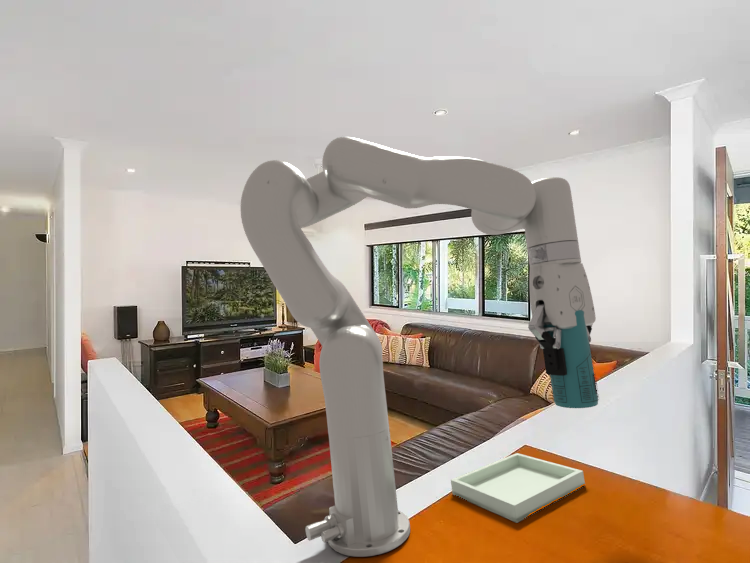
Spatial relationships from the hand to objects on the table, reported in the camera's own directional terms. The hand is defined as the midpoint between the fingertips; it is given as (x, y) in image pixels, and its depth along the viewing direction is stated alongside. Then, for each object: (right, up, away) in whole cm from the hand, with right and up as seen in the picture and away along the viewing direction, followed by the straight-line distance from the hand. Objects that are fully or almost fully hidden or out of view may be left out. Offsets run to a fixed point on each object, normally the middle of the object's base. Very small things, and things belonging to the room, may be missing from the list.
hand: (569, 370), depth 63 cm
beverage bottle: (+1, -7, -1) cm, 7 cm away
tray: (-5, -23, +8) cm, 25 cm away
